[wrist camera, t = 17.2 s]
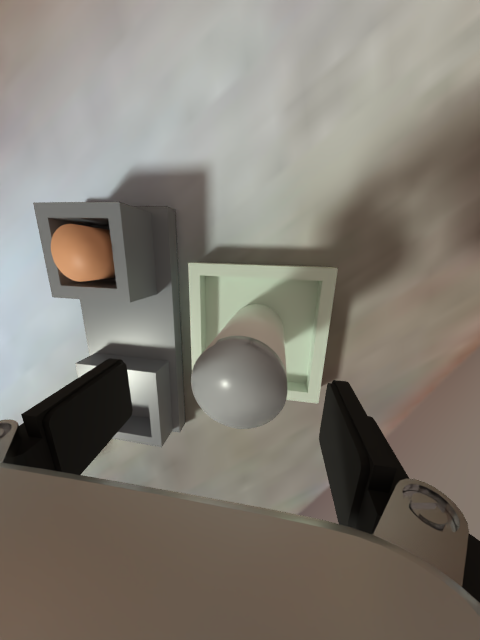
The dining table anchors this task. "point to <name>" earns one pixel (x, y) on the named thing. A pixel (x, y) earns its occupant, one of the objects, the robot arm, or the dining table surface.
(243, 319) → the cylinder
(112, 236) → the housing
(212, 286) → the tray
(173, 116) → the dining table surface
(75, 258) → the tan rounded piece
